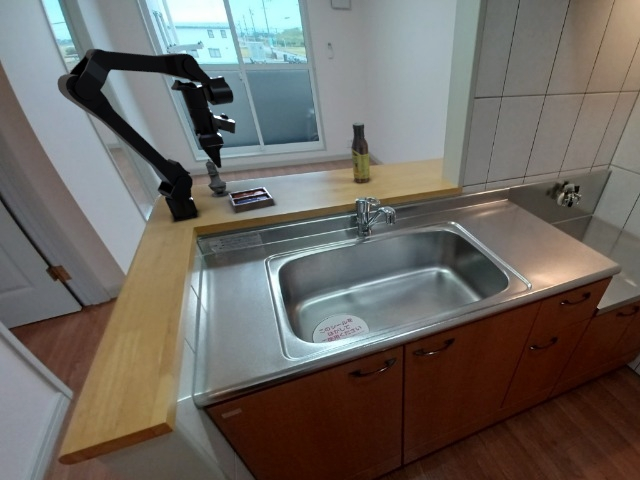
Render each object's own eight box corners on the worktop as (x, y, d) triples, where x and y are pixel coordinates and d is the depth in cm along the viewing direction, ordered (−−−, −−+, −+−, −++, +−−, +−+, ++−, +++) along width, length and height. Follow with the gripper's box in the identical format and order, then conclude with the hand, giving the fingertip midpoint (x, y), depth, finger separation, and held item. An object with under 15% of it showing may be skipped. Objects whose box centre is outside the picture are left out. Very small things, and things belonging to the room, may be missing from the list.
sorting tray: (236, 213, 103) (233, 205, 101) (230, 200, 111) (227, 193, 109) (274, 205, 108) (272, 198, 106) (266, 193, 116) (264, 186, 114)
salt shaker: (217, 198, 112) (203, 162, 105) (208, 194, 115) (194, 159, 108) (233, 193, 116) (221, 158, 108) (224, 189, 119) (212, 155, 111)
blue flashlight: (238, 207, 104) (237, 203, 103) (237, 204, 106) (235, 200, 105) (268, 201, 108) (267, 197, 107) (266, 198, 110) (265, 194, 109)
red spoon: (235, 202, 108) (234, 197, 107) (234, 199, 110) (232, 194, 109) (264, 196, 112) (263, 192, 111) (263, 193, 114) (261, 189, 113)
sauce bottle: (352, 178, 127) (347, 122, 115) (368, 177, 129) (364, 120, 116) (356, 184, 122) (350, 125, 110) (372, 182, 124) (368, 124, 111)
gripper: (233, 109, 91) (249, 167, 100) (223, 101, 103) (239, 153, 113) (188, 113, 86) (210, 173, 96) (184, 104, 99) (204, 158, 109)
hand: (217, 164), depth 103 cm, fingers open, 9 cm apart
